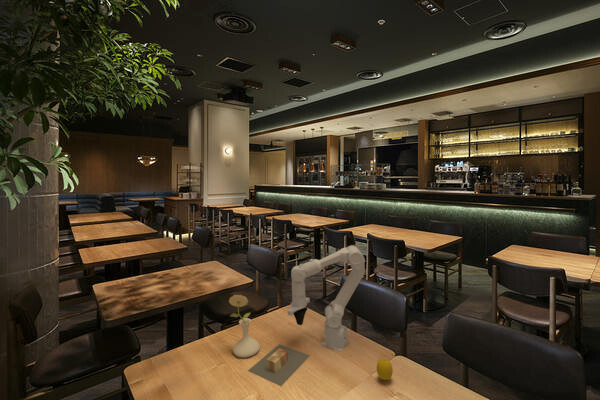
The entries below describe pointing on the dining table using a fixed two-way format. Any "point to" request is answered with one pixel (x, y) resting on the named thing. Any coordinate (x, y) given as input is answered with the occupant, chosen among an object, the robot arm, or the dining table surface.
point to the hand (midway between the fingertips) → (299, 324)
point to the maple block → (277, 360)
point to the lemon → (384, 369)
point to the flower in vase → (246, 344)
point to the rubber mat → (285, 371)
